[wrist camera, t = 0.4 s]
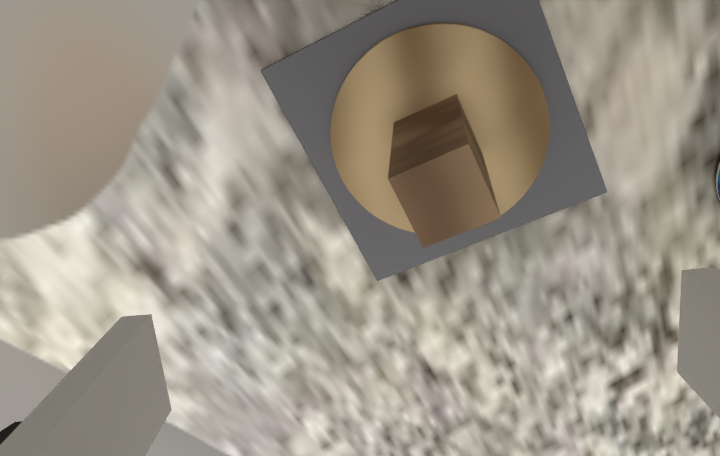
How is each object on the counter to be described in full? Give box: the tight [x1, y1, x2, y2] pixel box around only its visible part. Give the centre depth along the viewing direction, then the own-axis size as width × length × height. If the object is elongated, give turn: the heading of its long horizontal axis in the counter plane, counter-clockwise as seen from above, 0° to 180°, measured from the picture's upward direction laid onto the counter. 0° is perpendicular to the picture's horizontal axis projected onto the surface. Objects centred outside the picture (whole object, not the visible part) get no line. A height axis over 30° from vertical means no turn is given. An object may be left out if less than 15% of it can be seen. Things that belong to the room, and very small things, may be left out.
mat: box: [261, 0, 607, 281], centre depth 38 cm, size 16×16×1 cm
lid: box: [330, 22, 550, 248], centre depth 33 cm, size 13×13×10 cm
